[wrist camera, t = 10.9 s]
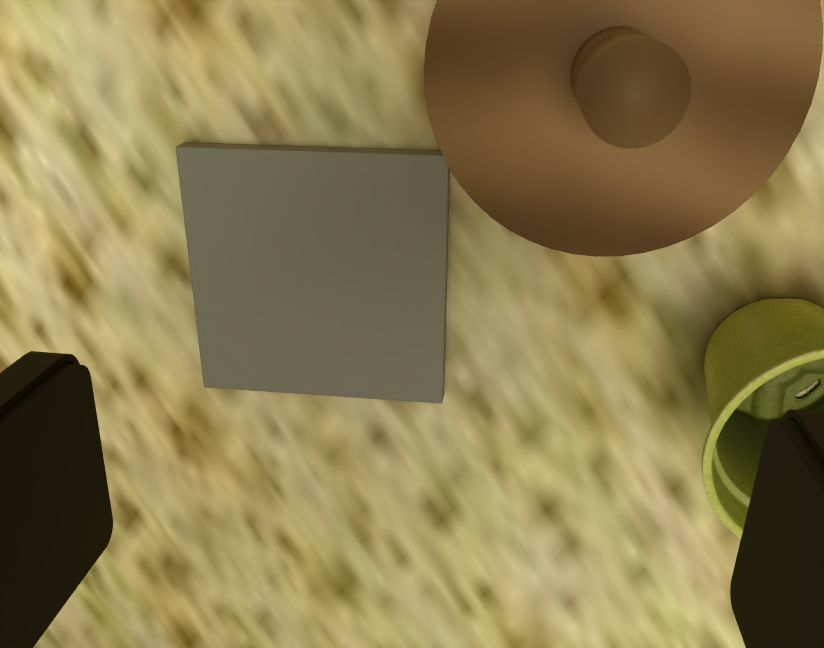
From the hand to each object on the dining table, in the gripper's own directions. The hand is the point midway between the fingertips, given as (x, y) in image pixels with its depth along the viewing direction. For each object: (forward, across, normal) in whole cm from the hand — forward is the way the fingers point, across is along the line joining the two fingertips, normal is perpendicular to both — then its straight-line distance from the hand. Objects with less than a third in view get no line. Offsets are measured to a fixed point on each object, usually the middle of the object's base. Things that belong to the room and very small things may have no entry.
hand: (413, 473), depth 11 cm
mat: (+25, +7, +6) cm, 27 cm away
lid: (+20, -5, -4) cm, 21 cm away
